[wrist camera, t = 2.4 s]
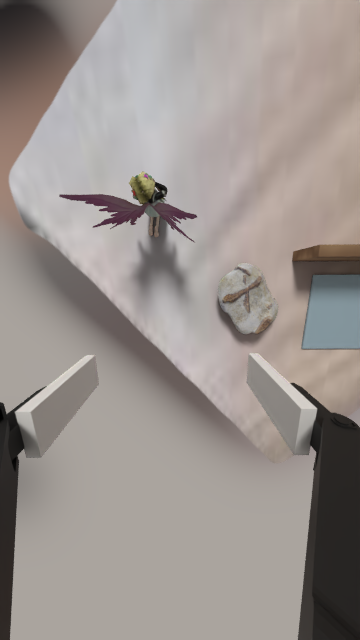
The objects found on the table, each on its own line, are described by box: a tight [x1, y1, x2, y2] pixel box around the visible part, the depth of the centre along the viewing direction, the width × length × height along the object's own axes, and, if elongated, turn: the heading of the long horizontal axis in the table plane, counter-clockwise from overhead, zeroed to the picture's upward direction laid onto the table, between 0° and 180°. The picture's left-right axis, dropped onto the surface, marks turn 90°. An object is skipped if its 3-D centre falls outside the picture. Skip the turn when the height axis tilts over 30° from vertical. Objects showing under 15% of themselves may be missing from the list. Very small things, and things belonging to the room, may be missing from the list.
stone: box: [218, 263, 278, 334], centre depth 31 cm, size 12×9×3 cm
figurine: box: [59, 172, 197, 242], centre depth 22 cm, size 14×8×15 cm, turn 83°
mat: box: [301, 275, 360, 349], centre depth 33 cm, size 14×12×1 cm
